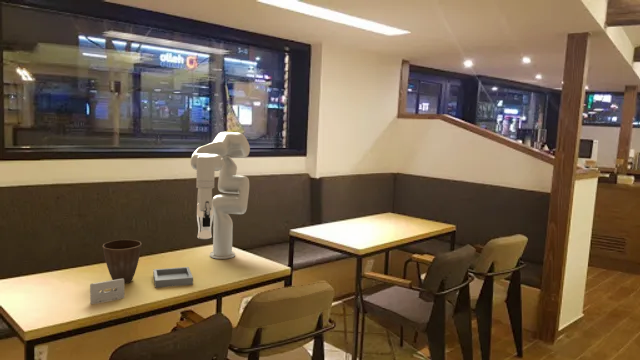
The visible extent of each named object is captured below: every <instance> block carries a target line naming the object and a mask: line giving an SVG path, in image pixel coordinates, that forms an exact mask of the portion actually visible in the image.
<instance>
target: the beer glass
mask: <svg viewBox="0 0 640 360" xmlns="http://www.w3.org/2000/svg"><path fill="white" fill-rule="evenodd" d="M205 206H206V205H205ZM210 209H211V208H210ZM204 210H206V209H204ZM196 221H197V227H198V230H197V231H198V232H197V238H198V239H200V240H208V239H211V238H213V236H212V235H213V234H212V224H213V221H214V218H213V203H212V210H211V211H210V227H203V226H202V225H203V210H202V211H200V210H199V204H197V203H196Z"/></svg>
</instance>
